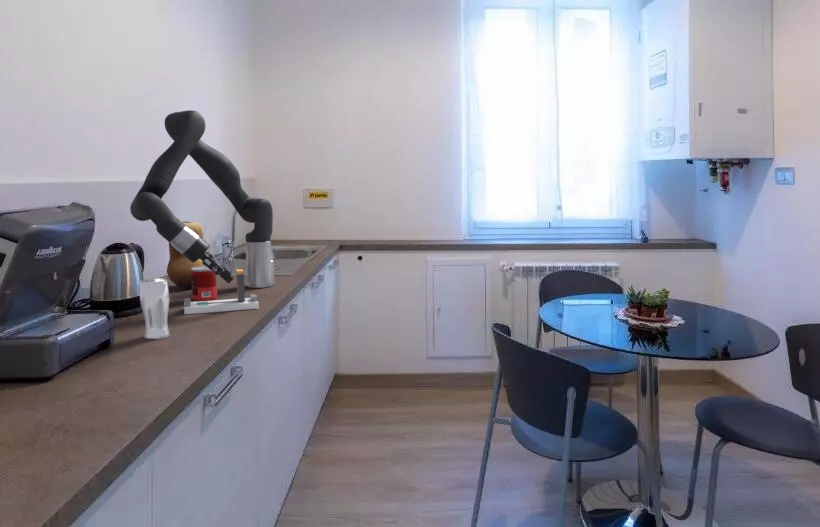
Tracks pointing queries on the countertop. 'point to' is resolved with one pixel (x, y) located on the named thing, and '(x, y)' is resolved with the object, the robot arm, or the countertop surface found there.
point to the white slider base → (220, 305)
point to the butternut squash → (183, 261)
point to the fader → (240, 285)
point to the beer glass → (155, 307)
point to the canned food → (203, 284)
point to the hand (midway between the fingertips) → (230, 278)
